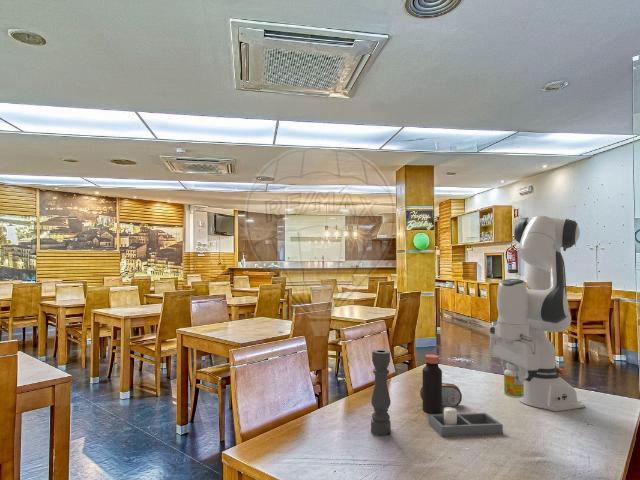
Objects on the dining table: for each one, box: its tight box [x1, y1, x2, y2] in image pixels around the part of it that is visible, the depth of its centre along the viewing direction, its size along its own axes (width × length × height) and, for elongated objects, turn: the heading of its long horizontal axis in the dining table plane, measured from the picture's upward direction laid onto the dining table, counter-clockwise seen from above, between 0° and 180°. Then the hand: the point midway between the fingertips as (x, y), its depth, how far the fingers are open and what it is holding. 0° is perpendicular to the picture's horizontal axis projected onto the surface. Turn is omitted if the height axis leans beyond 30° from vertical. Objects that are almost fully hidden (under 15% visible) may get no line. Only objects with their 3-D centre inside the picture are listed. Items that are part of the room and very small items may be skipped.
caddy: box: [427, 412, 504, 437], centre depth 129 cm, size 20×10×4 cm, turn 98°
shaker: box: [443, 406, 458, 426], centre depth 129 cm, size 4×4×6 cm
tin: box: [419, 382, 463, 407], centre depth 152 cm, size 15×3×8 cm, turn 84°
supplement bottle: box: [503, 362, 524, 399], centre depth 124 cm, size 5×5×10 cm
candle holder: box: [370, 349, 392, 437], centre depth 128 cm, size 6×6×25 cm
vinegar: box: [422, 354, 443, 415], centre depth 145 cm, size 7×7×20 cm
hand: (513, 377), depth 124 cm, fingers closed on supplement bottle, 5 cm apart
